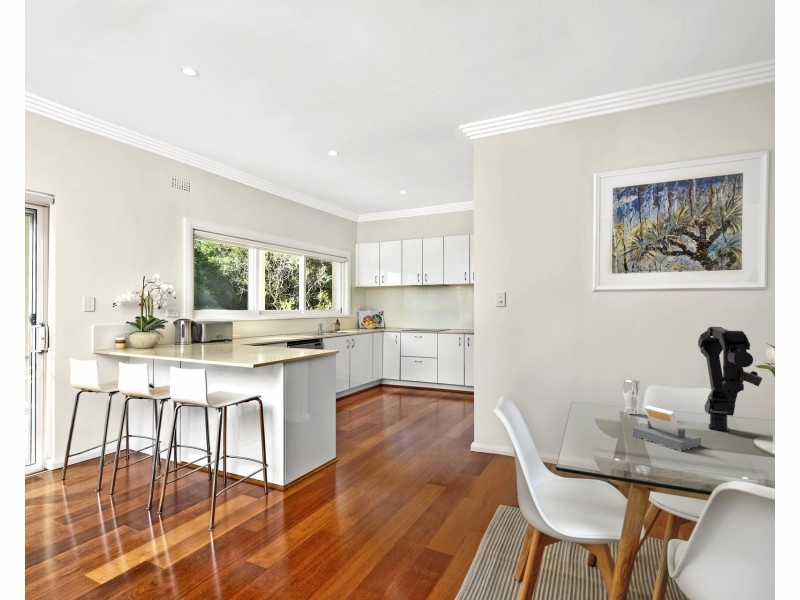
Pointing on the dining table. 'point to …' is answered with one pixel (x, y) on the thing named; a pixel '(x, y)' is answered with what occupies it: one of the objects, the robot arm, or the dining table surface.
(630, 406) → the beer glass
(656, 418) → the panel
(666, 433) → the base
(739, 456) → the dining table surface
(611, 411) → the dining table surface
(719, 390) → the robot arm
